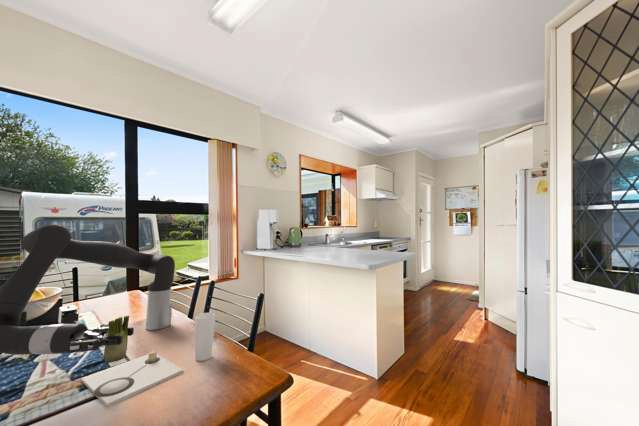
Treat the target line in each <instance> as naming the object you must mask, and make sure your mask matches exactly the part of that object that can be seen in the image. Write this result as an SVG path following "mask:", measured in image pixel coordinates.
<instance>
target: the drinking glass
mask: <svg viewBox="0 0 639 426" xmlns="http://www.w3.org/2000/svg"><path fill="white" fill-rule="evenodd" d="M194 318H195V319H194V345H195V346H194V347H195V348H194V349H195V350H194V351H195V354H194V355H195V357H194V359H195V360H196V361H197V362H205V361H207V360H209V359H211V358H212V352H213V351H212V350H213V344H214V337H215V335H214V334H215V329H216V314H215V313H213V312H202V313H198V314H197V315H195V317H194Z"/></svg>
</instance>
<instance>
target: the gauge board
mask: <svg viewBox="0 0 639 426" xmlns="http://www.w3.org/2000/svg"><path fill="white" fill-rule="evenodd" d="M183 373H184V369H183V368H182V367H180V366H178V365H176V364H174V363H173V362H171V361H169V360H168V359H166V358H164V357H162V356H160V355H159V354H158V352H157V351H156V350H154V351H150V352H148V354H145V355H143V356H140V357H136V358H134V359H131V360H128V361H126V362H123V363H120V364H117V365H115V366H112V367H109V368H107V369H103V370H100V371H97V372H95V373H92V374H90V375H87V376H84V377H81V379H80V382H81V383H82V384H83V385H84V386H86V388H87V389H88V390H89V391H91V393H92V394H93V395H94V396H95V397H96V398H97V399H98V400H99V401H101V403H102V405H104V406H105V407H106V408H108V407H111V406H112V405H115V404H117V403H119V402H121V401H123V400H125V399H128V398H130V397H133V396H134V395H136V394H138V393H141V392H142V391H145V390H148V389H149V388H151V387H154V386H156V385H159V384H160V383H162V382H165V381H167V380H169V379H172V378H173V377H176V376H178V375H180V374H183Z"/></svg>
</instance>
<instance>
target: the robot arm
mask: <svg viewBox="0 0 639 426" xmlns="http://www.w3.org/2000/svg"><path fill="white" fill-rule="evenodd" d="M21 247H22V248H23V250H24V251H25V252H26V253H28V255H27V256H26V258H25V259H24V260H23V262H22V263H21V264H20V266H18V268H17V269H16V270H15V271H14V272H13V273H12V274H11V275H10V276H9V278H8V279H7V280H6V281H5V282H4V283H3V284H2V285H1V287H0V355H2V354H7V355H16V356H17V355H18V356H19V355H20V356H21V355H56V354H57V355H59V354H74V353H81V352H90V351H96V350H99V348H103V347H104V348H105V345H120V344H121V343H122V341H123V336H108V327H109V325H108V324H100V327H91V328H90V329H89V328H87V325H86V324H85V323H82V322H81V323H79V322H76V324H59V323H57V324H56V323H55V324H54V323H53V324H48V325H47V324H46V325H28V326H20V323H21V318H22V313H23V312H24V310H25V308H26V307H27V306H28V303H29V302H30V300H31V298H32V296H33V294H34V293H35V291H36V289H37V287H38V285H39V284H40V283H41V281H42V279H43V278H44V276H45V275H46V273H47V271H48V270H49V269H50V267H52V266H51V265H52V264H53V263H54V262H55V260H56V259H57V258H59V259H67V260H74V261H80V262H84V263H85V262H86V263H91V264H96V265H100V266H106V267H112V268H118V269H120V268H121V269H135V270H139V271H143V272H146V273H149V274H152V275H154V278H153V279H154V280H153V281H152V282H150V283H149V284H148V286H147V300H146V301H147V305H146V319H145V329H146V330H148V331H156V330H157V331H158V330H162V329H165V328H167V327H168V326H171V325H172V312H173V309H172V308H173V305H172V304H171V296H172V295H171V294H172V292H171V291H172V284H173V282H174V279H175V270H176V264H175V259H174V258H173V257H172V256H171V255H167V254H153V253H146V252H140V251H138V250H135V248H134V249H133V248H131V247H130V246H127V245H123V244H119V243H114V242H111V241H99V240H98V241H97V240H96V241H94V240H77V239H72V235H71V231H69V229H68V228H67V227H66V226H63V225H60V224H59V223H58V224H56V223H52V224H45V225H43V226H41V227H38V228H36V229H34V230H32V231H30V232H28V233H27V234H25V236H23V238H22V239H21ZM134 330H135V329H134V327H131V326H130V327H129V326H128V337H129V336H132V335H134V332H135V331H134Z"/></svg>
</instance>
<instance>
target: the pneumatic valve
mask: <svg viewBox="0 0 639 426" xmlns="http://www.w3.org/2000/svg"><path fill="white" fill-rule="evenodd" d="M78 310H80V309H79V306H76V305H74V304H71V305H70V304H68V305H63V306H59V308H58V319H57V320H58V321H57V322H58V324H77V322H78V321H79V316H80V313H79V312H78Z"/></svg>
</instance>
